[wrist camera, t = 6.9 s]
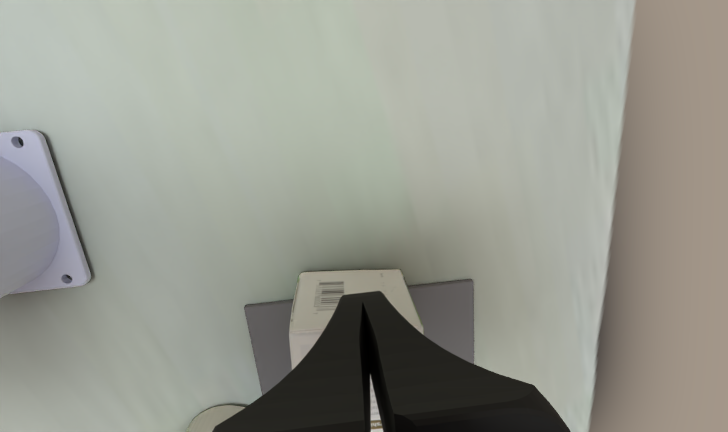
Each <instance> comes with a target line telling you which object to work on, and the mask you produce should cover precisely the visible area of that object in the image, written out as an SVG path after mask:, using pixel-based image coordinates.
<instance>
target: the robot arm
mask: <svg viewBox="0 0 728 432" xmlns="http://www.w3.org/2000/svg"><path fill="white" fill-rule="evenodd" d="M19 137H20V138H21V139H22V140H23V143H24V145H23V146H21V145H20V143H19V141H18V139H19ZM67 275H69V276H71V278H72V280H70V279H68V277H67ZM90 279H91V273H90V270H89V267H88V264H87V261H86V258H85V255H84V253H83V250H82V247H81V244H80V241H79V238H78V235H77V232H76V229H75V226H74V223H73V220H72V217H71V214H70V211H69V208H68V205H67V202H66V199H65V196H64V193H63V190H62V187H61V184H60V181H59V178H58V175H57V172H56V169H55V166H54V164H53V161H52V158H51V155H50V152H49V149H48V146H47V143H46V140H45V138H44V136H43V135H42V134H41V133H40V132H38V131H36V130H21V131H10V132H0V298H2V297H3V296H5V295H7V294H15V293H24V292H33V291H42V290H51V289H60V288H68V287H77V286H82V285H85V284H86V283H87V282H89V281H90ZM370 375H371V380H372V384H373V389H374V393H375V397H376V402H377V406H378V410H379V415H380V419H381V423H382V428H383V432H570V430H569V428H568V427H567V426H566V424H565V423H564V421H563V420H562V419H561V417H560V416H559V414H558V413H557V412H556V410H555V409H554V408H553V407H552V405H551V404H550V403H549V402H548V401H547V400H546V398H545V397H544V396H543V395H542V394H541V393H540V392H539V391H538V389H537V388H536V387H535V386H534V385H532V384H528V383H525V382H522V381H519V380H515V379H512V378H509V377H506V376H502V375H499V374H496V373H494V372H491V371H489V370H486V369H484V368H481V367H479V366H477V365H474V364H472V363H470V362H468V361H466V360H464V359H462V358H460V357H458V356H456V355H454V354H452V353H450V352H449V351H447V350H445V349H444V348H442V347H440V346H439V345H437V344H436V343H434V342H433V341H431V340H430V339H428V338H427V337H426V336H424V335H423V334H422V333H421V332H419V331H418V330H417V329H416V328H415V327H414V326H413V325H411V324H410V323H409V322H408V321H407V320H406V319H405V318H404V317H403V316H402V315H401V314H400V313H399V312H398V311H397V310H396V309H395V307H394V306H393V305H392V304H391V303H390V302H389V300H388V299H387V298H386V297H385V295H384V294H383V293H382V292H381V291H373V292H364V293H356V294H347V295H342V297H341V298H340V300H339V302H338V305H337V307H336V309H335V311H334V313H333V315H332V317H331V319H330V321H329V322H328V324H327V326H326V328H325V329H324V331H323V332H322V334H321V335H320V337H319V338H318V340H317V341H316V343H315V344H314V346H313V347H312V348H311V349H310V351H309V352H308V353H307V354H306V356H305V357H304V358H303V359H302V360H301V361H300V363H299V364H298V365H297V366H296V367H295V368H294V369H293V370H292V371H291V372H290V373H289V374H287V375H286V376H285V377H284V378H283V379H282V380H281V381H280V382H279V383H278V384H277V385H275V386H274V387H273V388H272V389H270V390H269V391H268V392H267V393H265V394H264V395H263V396H261V397H260V398H259V399H257V400H256V401H255V402H253V403H252V404H250V405H249V406H247V407H246V408H244V409H243V410H241V411H239V412H238V413H236V414H235V415H233V416H231V417H230V418H228V419H226V420H225V421H223V422H222V423H220V424H218V425H216V426H215V427H214V429H213V431H212V432H371V400H370Z"/></svg>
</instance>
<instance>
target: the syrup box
mask: <svg viewBox="0 0 728 432" xmlns="http://www.w3.org/2000/svg"><path fill="white" fill-rule="evenodd" d="M373 291H381V292H382V293H383V294H384V295H385V297H386V298H387V299H388V300H389V302H390V303H391V304H392V305H393V306H394V307H395V309H396V310H397V311H398V312H399V313H400V314H401V315H402V316H403V317H404V318H405V319H406V320H407V321H408V322H409V323H410V324H411V325H413V326H414V327H415V328H416V329H417V330H418V331H419V332H421V333H422V334H423V335H424V328H423V324H422V321H421V319H420V316H419V314H418V312H417V309H416V307H415V304H414V302H413V299H412V297H411V294H410V292H409V289H408V287H407V284H406V282H405V279H404V276H403V274H402V272H401V270H399V269H390V270H346V271H319V272H303V273H301V274H300V275H299V276H298V282H297V286H296V291H295V295H294V301H293V306H292V312H291V320H290V328H289V342H290V353H291V362H292V370H293V369H294V368H295V367H296V366H297V365H298V364H299V363H300V361H301V360H302V359H303V358H304V357H305V356H306V354H307V353H308V352H309V351H310V349H311V348H312V347H313V346H314V344H315V343H316V341H317V340H318V338H319V337H320V335H321V334H322V332H323V331H324V329H325V328H326V326H327V324H328V322H329V321H330V319H331V317H332V315H333V313H334V311H335V309H336V307H337V305H338V302H339V300H340V298H341V297H342V295H347V294H356V293H364V292H373ZM370 400H371V432H383V428H382V423H381V419H380V415H379V410H378V406H377V402H376V397H375V393H374V389H373V384H372V380H371V375H370Z"/></svg>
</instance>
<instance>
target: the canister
mask: <svg viewBox="0 0 728 432" xmlns="http://www.w3.org/2000/svg"><path fill="white" fill-rule="evenodd" d="M244 408H246V407H241V406H233V405H224V406H217V407H213V408H210V409H208V410H206V411H204V412H202V413H200V414H199V415H198V416H196V417H195V418H194V419H193V421H192V422H191V423H190V425H189V427H188V429H187V430H186V432H212V431H213V429H214V427H215V426H216V425H218V424H220V423H222V422H223V421H225V420H226V419H228V418H230V417H231V416H233V415H235V414H236V413H238V412H239V411H241V410H243V409H244Z"/></svg>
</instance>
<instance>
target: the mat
mask: <svg viewBox="0 0 728 432" xmlns="http://www.w3.org/2000/svg"><path fill="white" fill-rule="evenodd" d="M407 287H408V289H409V292H410V294H411V297H412V299H413V302H414V304H415V307H416V309H417V312H418V314H419V316H420V319H421V321H422V324H423V328H424V336H426V337H427V338H428V339H430V340H431V341H433V342H434V343H436V344H437V345H439V346H440V347H442V348H444V349H445V350H447V351H449V352H450V353H452V354H454V355H456V356H458V357H460V358H462V359H464V360H466V361H468V362H470V363H472V364H474V289H473V280H472V279H468V280H459V281H450V282H442V283H433V284H424V285H416V286H407ZM293 301H294V300H286V301H277V302H269V303H260V304H252V305H245V307H244V309H245V314H246V319H247V324H248V328H249V333H250V338H251V343H252V347H253V352H254V357H255V362H256V366H257V371H258V376H259V381H260V385H261V390H262V395H264V394H265V393H267V392H268V391H269V390H270V389H272V388H273V387H274V386H275V385H277V384H278V383H279V382H280V381H281V380H282V379H283V378H284V377H285V376H286V375H287V374H289V373H290V372H291V371H292V362H291V353H290V342H289V328H290V320H291V312H292V306H293Z"/></svg>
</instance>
